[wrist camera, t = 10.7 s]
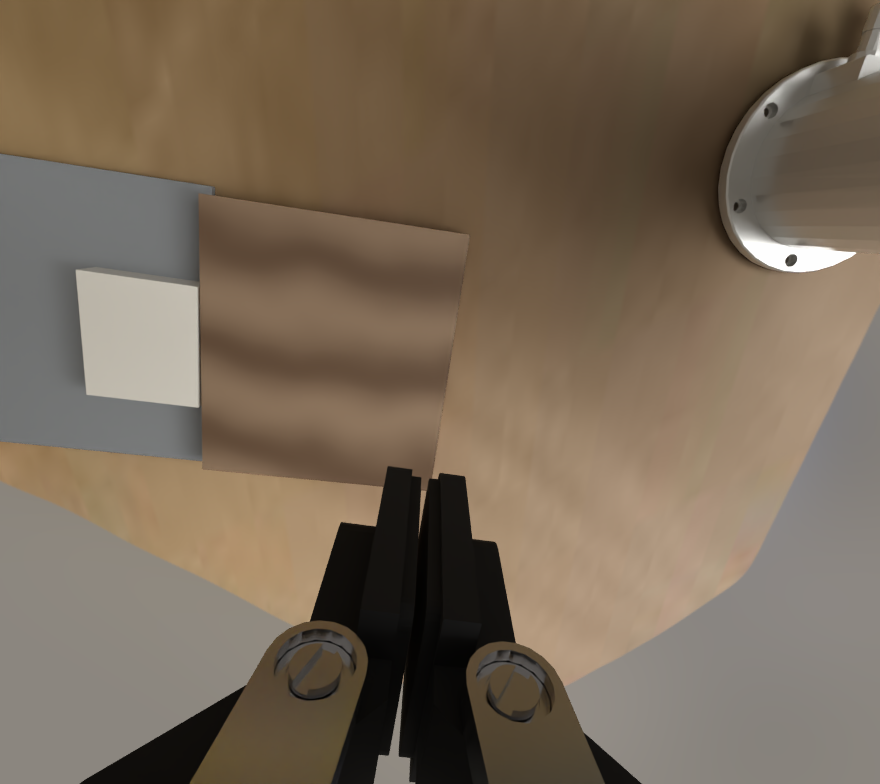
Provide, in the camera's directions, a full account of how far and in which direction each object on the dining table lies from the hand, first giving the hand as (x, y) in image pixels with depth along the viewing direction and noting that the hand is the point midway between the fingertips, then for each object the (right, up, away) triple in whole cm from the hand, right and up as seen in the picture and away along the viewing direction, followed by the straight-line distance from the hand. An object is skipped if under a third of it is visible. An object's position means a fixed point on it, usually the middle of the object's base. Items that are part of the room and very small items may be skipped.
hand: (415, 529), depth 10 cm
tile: (-19, +7, +22) cm, 29 cm away
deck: (-7, +6, +23) cm, 25 cm away
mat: (-24, +8, +22) cm, 33 cm away
